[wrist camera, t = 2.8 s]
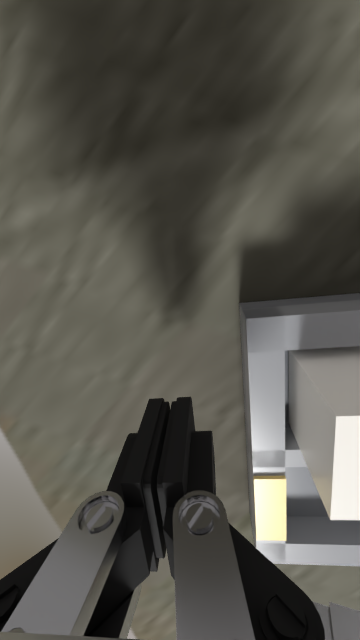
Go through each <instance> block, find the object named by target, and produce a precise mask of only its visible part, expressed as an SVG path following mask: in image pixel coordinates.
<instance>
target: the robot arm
mask: <svg viewBox="0 0 360 640" xmlns="http://www.w3.org/2000/svg"><path fill="white" fill-rule="evenodd" d="M166 548H167V554H168V560H169V565H170V571H171V576H172V577H173V579H174V580H175V603H176V632H177V640H360V611H358V610H354V609H351V608H348V607H344V606H341V605H338V604H335V603H331V602H329V607H328V606H325V605H322V604H318V603H315V602H312V601H311V600H310V599H309V597H308V596H307V595H306V594H305V593H304V592H303V591H302V590H301V589H300V588H299V587H298V586H297V585H296V584H295V583H294V582H292V581H291V580H290V579H289V578H288V577H287V576H286V575H285V574H284V573H283V572H282V571H280V570H279V569H278V568H277V567H276V566H275V565H274V564H273V563H272V562H271V561H270V560H268V559H267V558H266V557H265V556H264V555H263V554H262V553H261V552H260V551H259V550H258V549H256V548H255V547H254V546H253V545H252V544H251V543H250V542H249V541H248V540H247V539H246V538H245V537H243V536H242V535H241V534H240V533H239V532H238V531H237V530H236V529H235V528H234V527H233V526H231V525H230V524H229V523H228V519H227V515H226V510H225V508H224V505H223V503H222V502H221V500H220V499H219V498H218V497H217V496H216V483H215V461H214V447H213V437H212V431H195V425H194V416H193V407H192V399H191V397H179V398H177V401H173V402H172V405H171V409H170V406H169V402H164V399H163V398H158V399H149V401H148V404H147V407H146V410H145V413H144V416H143V419H142V422H141V425H140V428H139V431H138V433H130V434H129V435H128V437H127V439H126V441H125V444H124V446H123V449H122V452H121V454H120V457H119V459H118V462H117V465H116V467H115V470H114V472H113V475H112V478H111V480H110V483H109V485H108V488H107V491H102V492H99V493H95V494H94V495H92V496H90V497H88V498H87V499H86V500H85V501H83V502H82V503H81V504H80V506H79V507H78V508H77V510H76V511H75V513H74V514H73V516H72V518H71V519H70V521H69V522H68V524H67V526H66V527H65V529H64V531H63V532H62V534H61V535H60V537H59V538H58V539H57V540H55V541H54V542H53V543H51V544H50V545H48V546H47V547H46V548H44V549H43V550H41V551H40V552H39V553H37V554H36V555H34V556H33V557H32V558H30V559H29V560H27V561H26V562H25V563H23V564H22V565H20V566H19V567H18V568H16V569H15V570H13V571H12V572H11V573H9V574H8V575H6V576H5V577H4V578H2V579H1V580H0V640H138V639H127V636H128V633H129V629H130V626H131V623H132V620H133V616H134V613H135V610H136V606H137V603H138V600H139V596H140V591H141V582H143V581H144V580H145V579H146V578H147V577H148V576H149V574H150V571H157V570H158V563H159V558H165V553H166Z"/></svg>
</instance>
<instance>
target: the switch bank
mask: <svg viewBox="0 0 360 640" xmlns="http://www.w3.org/2000/svg"><path fill="white" fill-rule="evenodd" d="M239 309H240V329H241V348H242V368H243V387H244V407H245V427H246V446H247V466H248V485H249V505H250V519H251V525H252V532H253V539H254V546H255V548H256V549H258V550H259V551H260V552H261V553H262V554H263V555H264V556H265V557H266V558H267V559H268V560H270V561H271V562H272V563H274V564H307V565H339V566H360V520H330V518H329V516H328V514H327V511H326V509H325V507H324V504H323V502H322V500H321V497H320V495H319V493H318V490H317V488H316V485H315V483H314V481H313V478H312V476H311V474H310V471H309V469H308V467H307V464H306V462H305V460H304V457H303V455H302V453H301V450H300V448H299V446H298V443H297V441H296V439H295V436H294V434H293V432H292V429H291V427H290V424H289V350H304V349H320V348H336V347H353V346H360V293H354V294H342V295H330V296H318V297H306V298H294V299H282V300H270V301H258V302H246V303H239Z"/></svg>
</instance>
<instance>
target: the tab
mask: <svg viewBox="0 0 360 640" xmlns="http://www.w3.org/2000/svg"><path fill="white" fill-rule="evenodd" d="M289 424H290V427H291V429H292V432H293V434H294V436H295V439H296V441H297V443H298V446H299V448H300V450H301V453H302V455H303V457H304V460H305V462H306V464H307V467H308V469H309V471H310V474H311V476H312V478H313V481H314V483H315V485H316V488H317V490H318V493H319V495H320V497H321V500H322V502H323V504H324V507H325V509H326V511H327V514H328V516H329V518H330V520H360V346H353V347H336V348H320V349H304V350H289Z"/></svg>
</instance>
